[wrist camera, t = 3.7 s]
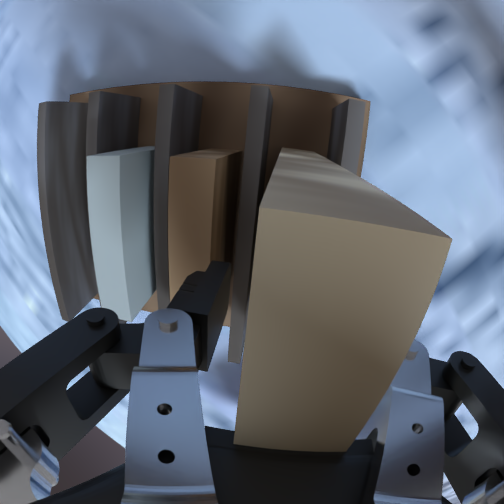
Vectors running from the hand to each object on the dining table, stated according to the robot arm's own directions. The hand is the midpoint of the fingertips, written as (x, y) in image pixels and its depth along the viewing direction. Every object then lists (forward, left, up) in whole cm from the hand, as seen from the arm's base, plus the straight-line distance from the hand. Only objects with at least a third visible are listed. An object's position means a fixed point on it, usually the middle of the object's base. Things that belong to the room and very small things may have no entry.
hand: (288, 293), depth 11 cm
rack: (+7, 0, -10) cm, 12 cm away
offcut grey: (+9, 0, -9) cm, 13 cm away
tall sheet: (0, 0, -9) cm, 9 cm away
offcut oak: (+4, 0, -9) cm, 10 cm away
